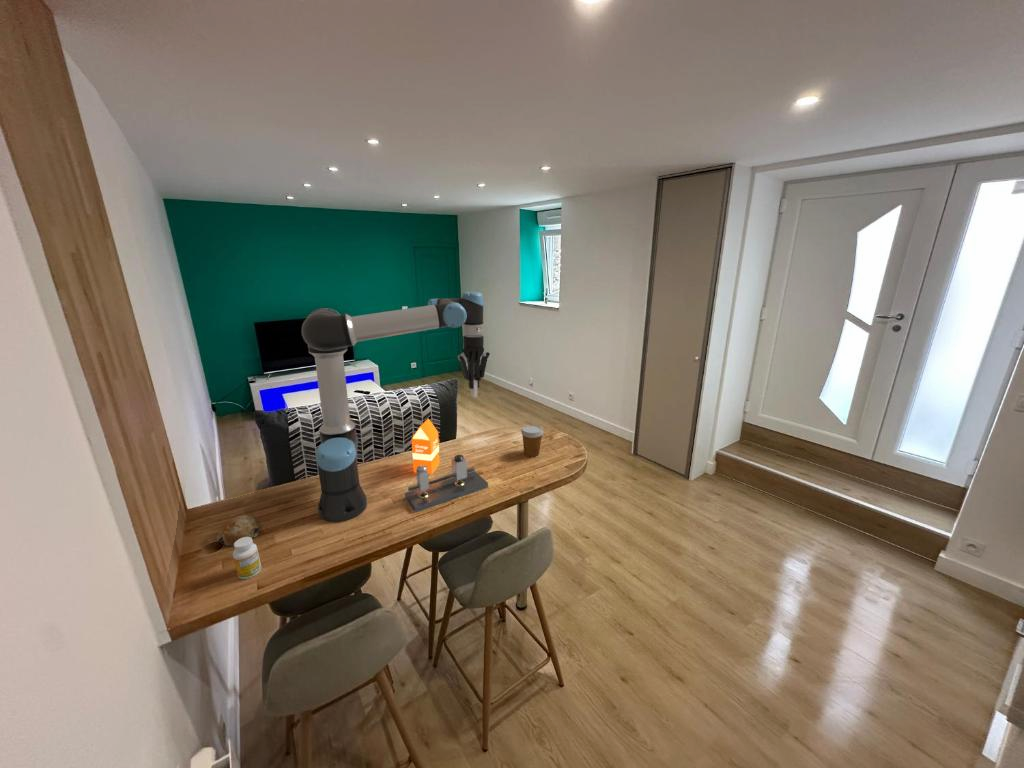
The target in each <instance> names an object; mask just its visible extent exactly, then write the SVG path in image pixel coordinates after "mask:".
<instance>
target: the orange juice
mask: <svg viewBox="0 0 1024 768" xmlns="http://www.w3.org/2000/svg"><path fill="white" fill-rule="evenodd" d="M439 442H440V441H439V431H438V430H437V429H436V427H435V425H434V424H433V423H432V421H431V420H430V419H429V418H427V419H426V420H425V421H424V422H423V423H422V424H421V425H420V426H419V427H418V429H417V431H415V433H414V435H413V436H412V437H411V449H412V453H411V454H412V466H413V473H416V469H417V467H418V466H420V465H425V466H427V470H428V475H433V474H434V472H435V471H436V469H437V468H438V466H439V465H440V445H439ZM416 474H417V473H416Z"/></svg>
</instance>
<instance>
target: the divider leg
mask: <svg viewBox="0 0 1024 768" xmlns="http://www.w3.org/2000/svg"><path fill="white" fill-rule="evenodd" d="M467 462H468V461H467V459H466V458H465V457H464V455H463V454H456V455H455V456H454V457H451V474H452V476H453V478H455V479H456V480H458V482H461V479H464V478H467V469H468V464H467Z"/></svg>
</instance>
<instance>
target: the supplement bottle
mask: <svg viewBox="0 0 1024 768" xmlns="http://www.w3.org/2000/svg"><path fill="white" fill-rule="evenodd" d="M257 546H258V545H257V544H256V543H254V540H253V538H251V537H243V538H240V539H239V540H237V541H236V542H235V543H234V546H233V547H234V550H233V552H232V558H233V561H234V567H235V571H236V575H237V577H238V578H239V579H241V580H247V579H250V578H253V577H255V576H256V575H258V573H260V571H261V570H262V564H261V559H260V554H259V550H258V547H257Z"/></svg>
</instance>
